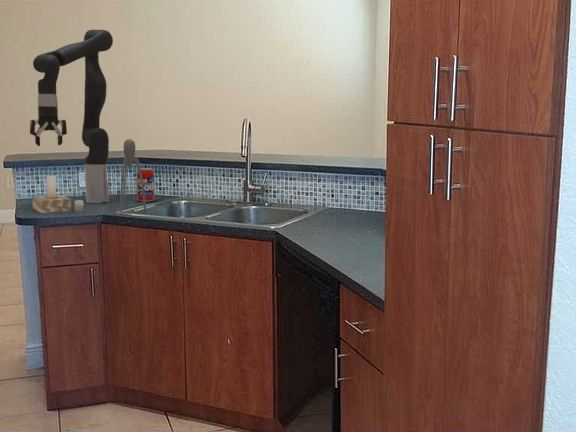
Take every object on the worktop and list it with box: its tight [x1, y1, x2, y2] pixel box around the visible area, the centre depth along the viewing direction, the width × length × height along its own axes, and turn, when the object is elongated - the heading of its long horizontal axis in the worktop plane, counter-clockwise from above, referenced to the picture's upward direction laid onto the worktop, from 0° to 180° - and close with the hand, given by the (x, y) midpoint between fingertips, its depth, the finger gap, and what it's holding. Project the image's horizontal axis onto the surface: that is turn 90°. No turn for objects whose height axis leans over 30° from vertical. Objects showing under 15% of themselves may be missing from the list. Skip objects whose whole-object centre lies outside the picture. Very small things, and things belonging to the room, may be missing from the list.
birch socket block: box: [31, 195, 72, 214], centre depth 296 cm, size 12×12×5 cm
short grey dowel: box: [74, 199, 85, 213], centre depth 294 cm, size 4×4×4 cm
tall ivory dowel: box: [46, 175, 57, 199], centre depth 295 cm, size 4×4×14 cm
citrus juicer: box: [119, 138, 147, 213], centre depth 295 cm, size 11×10×30 cm
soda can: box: [136, 167, 155, 203], centre depth 326 cm, size 8×8×15 cm
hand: (49, 145), depth 293 cm, fingers open, 8 cm apart
